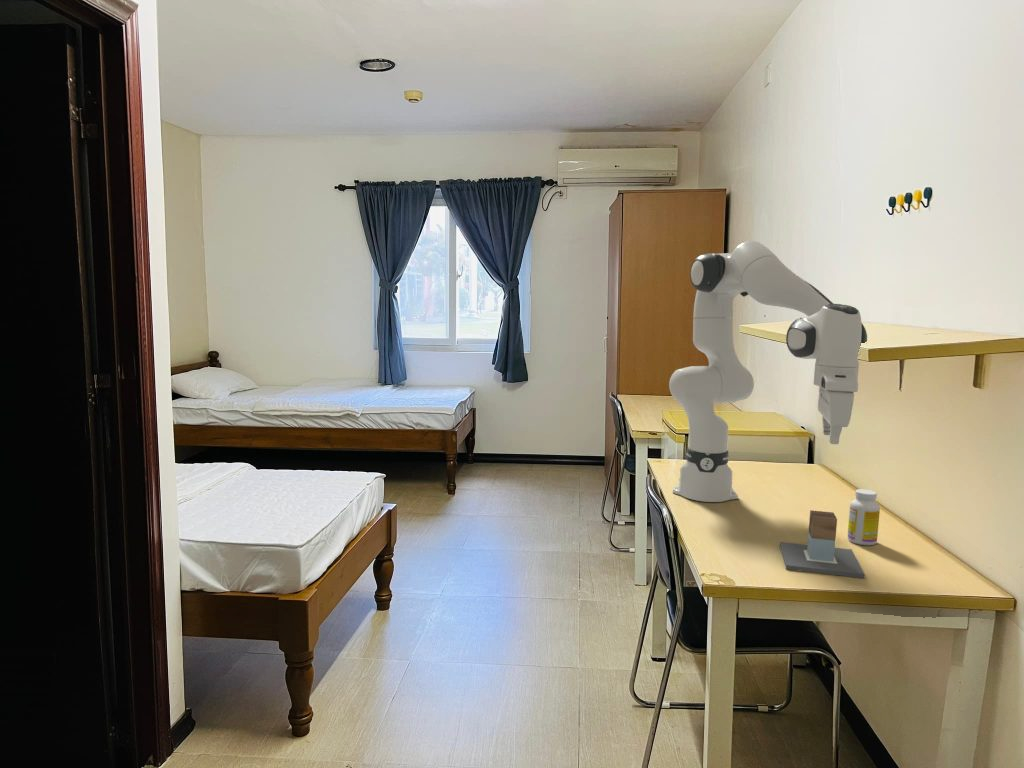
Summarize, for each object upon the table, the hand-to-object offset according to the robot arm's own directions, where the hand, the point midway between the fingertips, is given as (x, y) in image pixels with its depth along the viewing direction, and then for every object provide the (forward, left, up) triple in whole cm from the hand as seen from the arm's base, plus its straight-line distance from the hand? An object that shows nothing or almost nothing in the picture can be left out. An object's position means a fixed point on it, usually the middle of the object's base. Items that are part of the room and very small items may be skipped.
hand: (830, 439), depth 161 cm
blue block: (0, 0, -28) cm, 28 cm away
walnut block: (0, 0, -23) cm, 23 cm away
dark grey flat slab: (0, 0, -29) cm, 29 cm away
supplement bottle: (-17, +12, -29) cm, 36 cm away
